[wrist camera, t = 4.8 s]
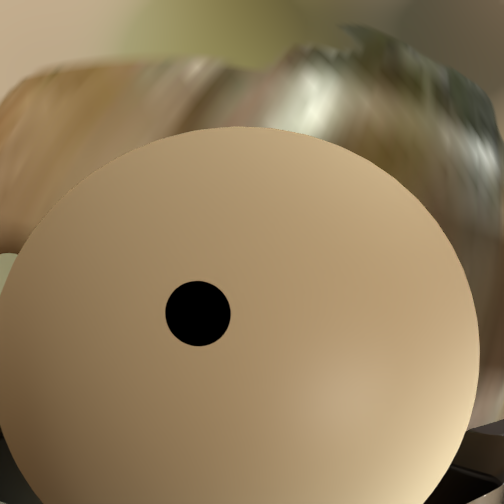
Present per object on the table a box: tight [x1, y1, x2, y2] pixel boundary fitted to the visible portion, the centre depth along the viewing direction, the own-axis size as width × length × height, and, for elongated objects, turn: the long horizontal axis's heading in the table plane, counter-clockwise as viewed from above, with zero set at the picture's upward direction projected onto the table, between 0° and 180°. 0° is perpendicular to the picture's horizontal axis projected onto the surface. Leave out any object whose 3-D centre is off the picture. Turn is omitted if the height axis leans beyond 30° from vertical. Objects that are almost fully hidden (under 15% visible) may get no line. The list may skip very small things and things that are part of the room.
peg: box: [0, 127, 480, 504], centre depth 8 cm, size 5×5×13 cm
